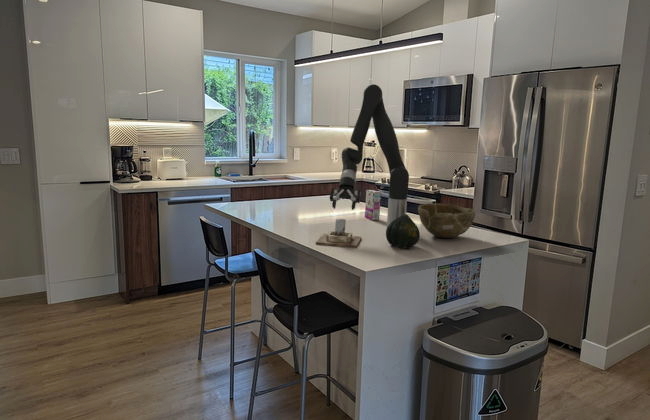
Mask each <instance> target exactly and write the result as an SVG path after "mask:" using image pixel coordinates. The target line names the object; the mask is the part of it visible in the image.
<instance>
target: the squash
mask: <svg viewBox="0 0 650 420" xmlns="http://www.w3.org/2000/svg"><path fill="white" fill-rule="evenodd" d="M420 234H421V233H420V229H419V227H418V226H417V224H416V223H415V222H414V221H413V219H412V218H411V217H410V216H409V215H408V214H407V213H406V215H402V216H400V217H398V218H396V219H395V220H393V221H392V222H391V223H390V224H389V225H388V227H387V226H386V229H385V238H386V241H387V243H389V245H391V246H394V247H395V246H398V248H400V249H402V250H403V249H410V248H412V247H413V246H416V245H417V244H418V242H419V240H420V236H421V235H420Z"/></svg>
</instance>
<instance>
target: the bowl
mask: <svg viewBox="0 0 650 420" xmlns="http://www.w3.org/2000/svg"><path fill="white" fill-rule="evenodd" d="M417 210H418V211H417V212H418V216H419V218H420V221H421V225H422V226H423V227H424V228H425V230H427V232H428V233H430V234H431V235H432V236H434V237H435V238H445V239H449V238H450V239H451V238H456V237H458V236H461V235H464V234H465V233H467V231H468V230H470V228H471V226H472V225H473V224H472V223H473V221H474V219H475V216H476V215H475V214H476V213H475V209H474V208H470V207H469V208H467V207H461V206H458V205H456V204H448V203H424V204H420V205H419V206H418V208H417Z"/></svg>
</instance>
